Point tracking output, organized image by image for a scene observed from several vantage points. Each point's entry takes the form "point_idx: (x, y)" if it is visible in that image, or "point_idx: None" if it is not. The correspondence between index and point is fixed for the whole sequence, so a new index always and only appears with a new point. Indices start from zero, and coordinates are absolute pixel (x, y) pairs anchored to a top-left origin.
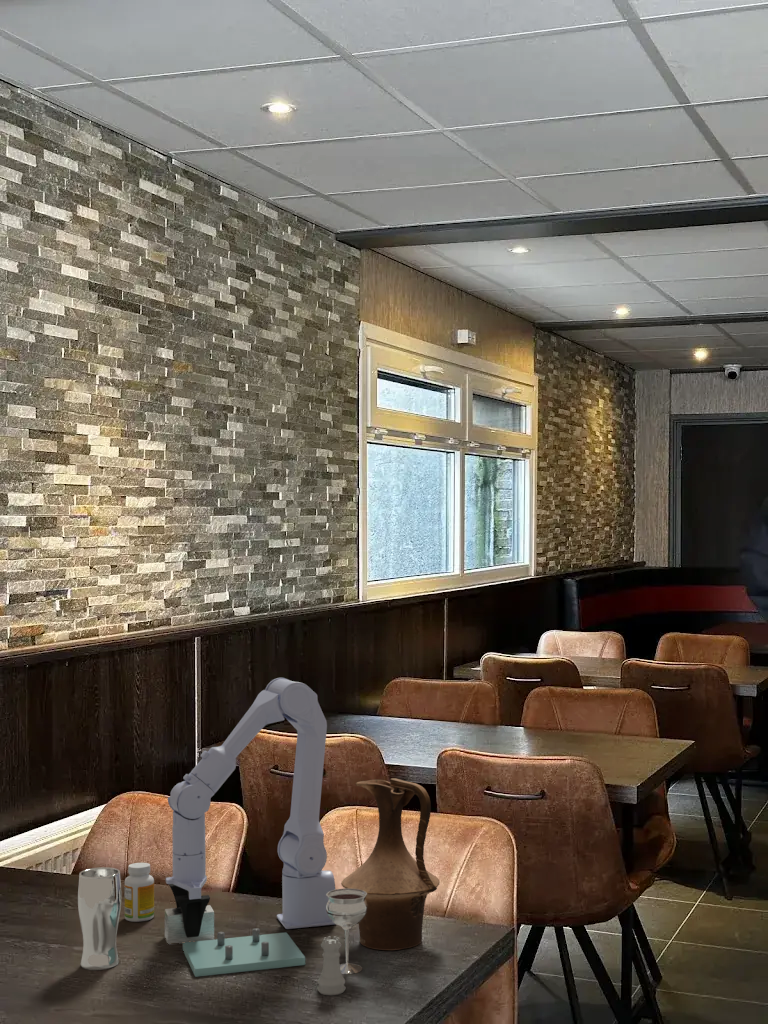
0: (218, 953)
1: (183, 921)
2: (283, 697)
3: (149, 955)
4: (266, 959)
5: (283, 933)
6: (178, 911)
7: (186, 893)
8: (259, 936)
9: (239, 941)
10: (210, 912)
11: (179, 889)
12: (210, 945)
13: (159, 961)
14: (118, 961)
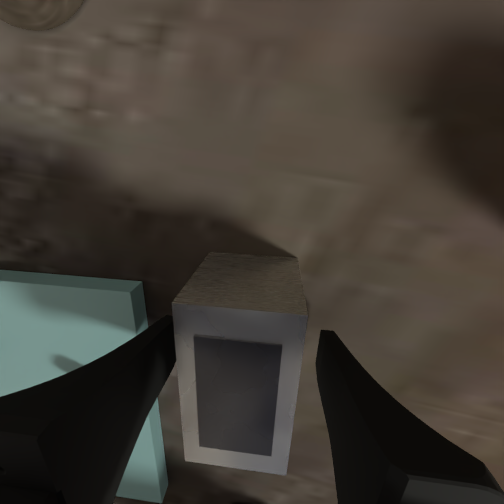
0: (20, 353)
1: (147, 343)
2: None
3: (108, 171)
4: None
5: (154, 497)
6: (227, 360)
7: (351, 477)
8: None
9: None
10: (185, 449)
11: (367, 485)
12: (90, 353)
13: (44, 193)
14: (16, 26)
